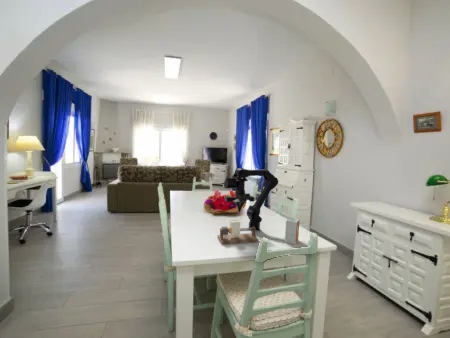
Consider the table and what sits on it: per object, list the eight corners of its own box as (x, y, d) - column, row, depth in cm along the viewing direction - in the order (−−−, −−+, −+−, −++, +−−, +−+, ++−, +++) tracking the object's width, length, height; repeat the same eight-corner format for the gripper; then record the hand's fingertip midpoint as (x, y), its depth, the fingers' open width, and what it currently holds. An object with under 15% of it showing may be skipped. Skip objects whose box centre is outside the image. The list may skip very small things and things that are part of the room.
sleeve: (237, 232, 143) (238, 219, 142) (239, 234, 138) (240, 222, 138) (229, 232, 141) (230, 220, 141) (231, 235, 137) (232, 222, 137)
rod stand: (251, 235, 149) (252, 223, 148) (258, 242, 138) (259, 228, 138) (217, 237, 143) (217, 224, 143) (221, 244, 133) (222, 231, 132)
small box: (295, 244, 136) (296, 222, 135) (284, 242, 139) (285, 220, 138) (298, 240, 143) (299, 219, 142) (287, 238, 146) (289, 217, 145)
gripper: (229, 190, 143) (228, 215, 144) (258, 190, 148) (257, 214, 149) (224, 187, 154) (224, 211, 155) (251, 187, 159) (250, 210, 160)
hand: (239, 211), depth 154 cm, fingers closed
